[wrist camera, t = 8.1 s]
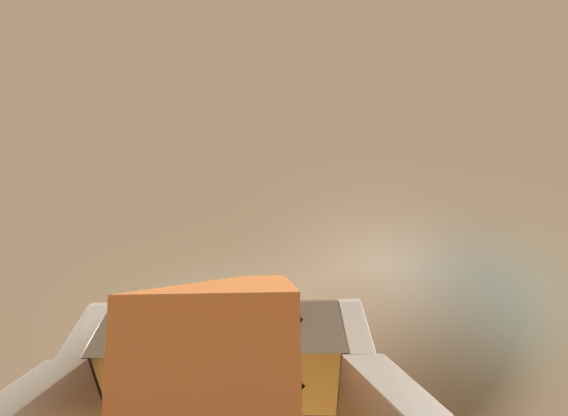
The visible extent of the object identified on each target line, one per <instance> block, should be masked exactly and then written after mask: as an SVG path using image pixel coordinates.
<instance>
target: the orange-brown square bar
mask: <svg viewBox="0 0 568 416" xmlns="http://www.w3.org/2000/svg"><path fill="white" fill-rule="evenodd" d="M101 416H302V376H301V328H300V292H299V290H298V289H297V288H296V287H295V286H294V285H293V284H292V283H291V282H290V281H289V280H288V279H287V278H286V277H285V276H284V275H270V276H241V277H234V278H226V279H219V280H211V281H204V282H197V283H190V284H183V285H175V286H169V287H161V288H154V289H147V290H140V291H132V292H125V293H118V294H111V295H108V304H107V322H106V340H105V358H104V376H103V395H102V413H101Z"/></svg>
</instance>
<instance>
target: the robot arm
mask: <svg viewBox="0 0 568 416" xmlns="http://www.w3.org/2000/svg"><path fill="white" fill-rule="evenodd" d="M107 304H108V303H92V304H90V305H89V306H87V307H86V309H85V310H84V312H83V313H82V315H81V317H80V318H79V320H78V321H77V323H76V325H75V326H74V328H73V329H72V331H71V332H70V334H69V336H68V337H67V339H66V341H65V342H64V344H63V345H62V347H61V348H60V350H59V351H58V353H57V355H56V356H55V358H54V359H53V360H45V361H44V362H42V363H41V364H39V365H38V366H36V367H35V368H33V369H32V370H30V371H29V372H27V373H26V374H24V375H23V376H21V377H20V378H18V379H17V380H15V381H14V382H12V383H11V384H9V385H8V386H6V387H5V388H3V389H2V390H0V416H101V413H102V395H103V376H104V358H105V340H106V322H107ZM300 328H301V376H302V415H324V416H454V415H453V414H452V413H451V412H449V411H448V410H447V409H446V408H445V407H444V406H442V404H440V403H439V402H438V401H437V400H436V399H434V398H433V397H432V396H431V395H430V394H429V393H428V392H427V391H425V390H424V389H423V388H422V387H421V386H420V385H419V384H417V383H416V382H415V381H414V380H413V379H412V378H410V377H409V376H408V375H407V374H406V373H405V372H404V371H403V370H401V369H400V368H399V367H398V366H397V365H396V364H395V363H393V362H392V361H391V360H390V359H389V358H387V356H385V355H384V354H376V350H375V347H374V344H373V340H372V337H371V334H370V330H369V326H368V323H367V320H366V316H365V313H364V309H363V306H362V303H361V301H360V299H337V300H305V301H304V300H302V301H300Z"/></svg>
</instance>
